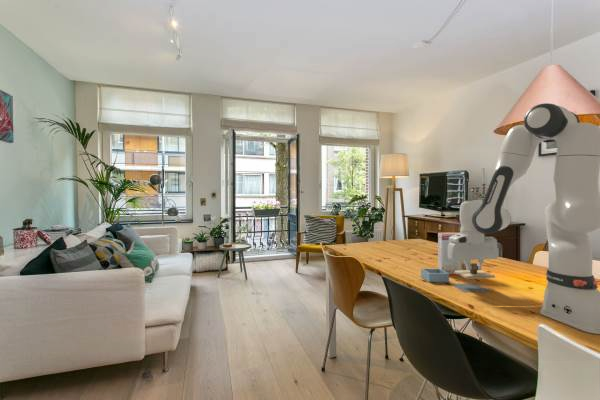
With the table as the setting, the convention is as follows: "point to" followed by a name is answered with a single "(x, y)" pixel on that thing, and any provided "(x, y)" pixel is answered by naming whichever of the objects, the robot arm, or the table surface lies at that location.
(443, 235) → the cracker box
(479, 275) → the lid
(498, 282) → the table surface
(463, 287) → the mat
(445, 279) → the blue square tray
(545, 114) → the robot arm
